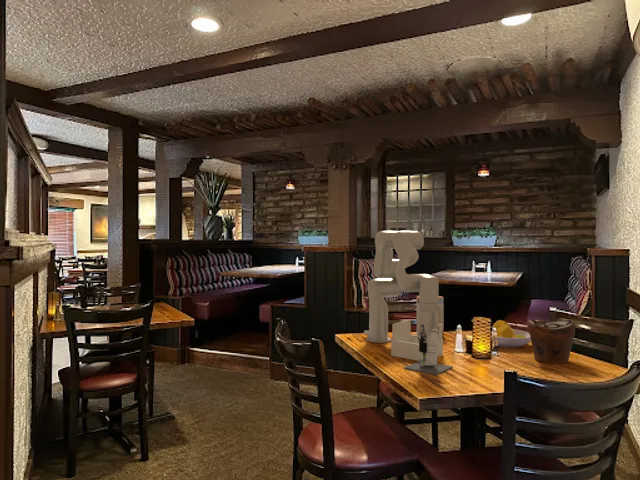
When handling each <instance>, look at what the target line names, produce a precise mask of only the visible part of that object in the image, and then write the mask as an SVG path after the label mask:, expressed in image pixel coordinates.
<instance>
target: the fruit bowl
mask: <svg viewBox="0 0 640 480" xmlns="http://www.w3.org/2000/svg"><path fill="white" fill-rule="evenodd" d="M473 320H474V319H471V320H470V321H471V323H473ZM493 327H495V328H496V329H497V341H498V346H497V347H499V348H519V347H522V346H525V345H527V344H530V343H531V338H530V334H529V333H528V331H526V330H520V329H518V328H517V329H516V328H511V325H510V324H509V323H508V322H507V321H505V320H501V319H499V320H496V322H494V323H493V325H492V326H491V328H493Z"/></svg>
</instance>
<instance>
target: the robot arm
mask: <svg viewBox="0 0 640 480" xmlns="http://www.w3.org/2000/svg"><path fill="white" fill-rule="evenodd" d="M374 244H375V245H374V246H375V256H374V262H373V268H372V269H373V276H374V277H377V278H373V279H370V280H369V281H368V283H367V293H368V294H367V295H368V302H369V303H368V304H369V306H368V309H369V311H368V312H369V313H368V315H369V317H368V318H369V319H368V321H369V322H368V323H369V325H368V329H369V330H364V331H363V335H366V338H365V340H366V342H370V343H377V344H384V343H385V344H386V343H389V342H391V340H392V338H391V337H389V333H388V332H389V306H388V303H387V302H386V300H385V299H384V298H393V297H394V298H395V297H399V296H400V295H401V293H402V291H403V292H405V293H419V294H418V296H419V310H420V311H419V313H418V321H417V320H416V335H417V336H418V339H419V352H423V353H427V343H426V340H427V337H428V336H430V335H431V331H432V329H438V334H439V324H438V296H439V289H440V288H439V283H440V282H439V278H438V277H437V276H434V275H430V274H428V273H407V272H406V268H408V267H411V266H413V265H414V264H416V262H417V261H418V260H419V253H418V251H417V250H421V249H422V248H423V247H424V244H425V240H424V236H423V234H422V233H421V232H420V231H419V230H380V231H378V232H377V233H376V234H375V237H374ZM393 249H394V250H395V252H396V255H397V257H398V258H393V256H394V250H393ZM423 331H425V333H426V335H425V334H423ZM423 337H425V338H423Z"/></svg>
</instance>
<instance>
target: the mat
mask: <svg viewBox="0 0 640 480" xmlns="http://www.w3.org/2000/svg"><path fill="white" fill-rule="evenodd" d="M453 368H454V367H453V366H452V365H446V364H441V363H437V365H427V366H424V365H423V364H421V363H420V361H416V362H414V363H411V364H409V365H406V366H404V368H403V369H404V370H409V371H414V372H417V373H424V374H427V375H432V376H439V375H440V374H442V373H445V372H447V371H449V370H453Z"/></svg>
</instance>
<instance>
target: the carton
mask: <svg viewBox="0 0 640 480" xmlns="http://www.w3.org/2000/svg"><path fill="white" fill-rule="evenodd" d="M411 323H412V321H411V319H407V320H403V321H399V322H394V323H392V325H391V326H392V332H391V333H392V334H391V335H392V336H391V337H392V338H391V341H390V342H391V343H390V344H391V345H390V346H391V349H390V350H391V352H390V355H391V356H392V357H396V358H401V359H402V358H403V359H407V360H413V361H416V362H419V361H420V352H419V339H418V336H417V334H411V333H412V331H411V329H412V328H411V327H412V326H411V325H412V324H411ZM443 355H444V339H443V335H442V324H439V334H438V339H437V358H439V357H441V356H442V357H443Z"/></svg>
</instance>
